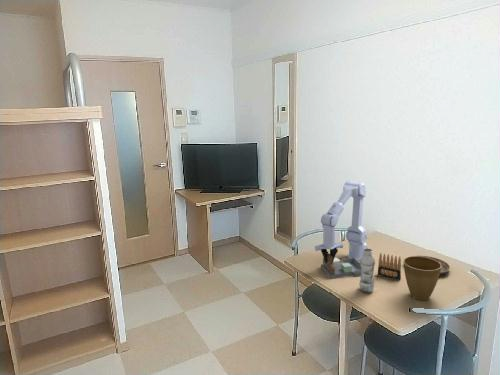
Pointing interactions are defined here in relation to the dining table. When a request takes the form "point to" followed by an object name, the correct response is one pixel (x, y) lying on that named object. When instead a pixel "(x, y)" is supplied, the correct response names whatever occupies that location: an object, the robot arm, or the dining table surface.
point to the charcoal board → (336, 272)
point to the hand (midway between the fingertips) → (328, 262)
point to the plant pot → (421, 276)
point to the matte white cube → (336, 262)
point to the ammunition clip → (389, 267)
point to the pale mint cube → (346, 267)
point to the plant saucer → (444, 267)
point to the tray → (354, 265)
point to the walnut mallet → (329, 264)
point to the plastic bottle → (367, 271)
